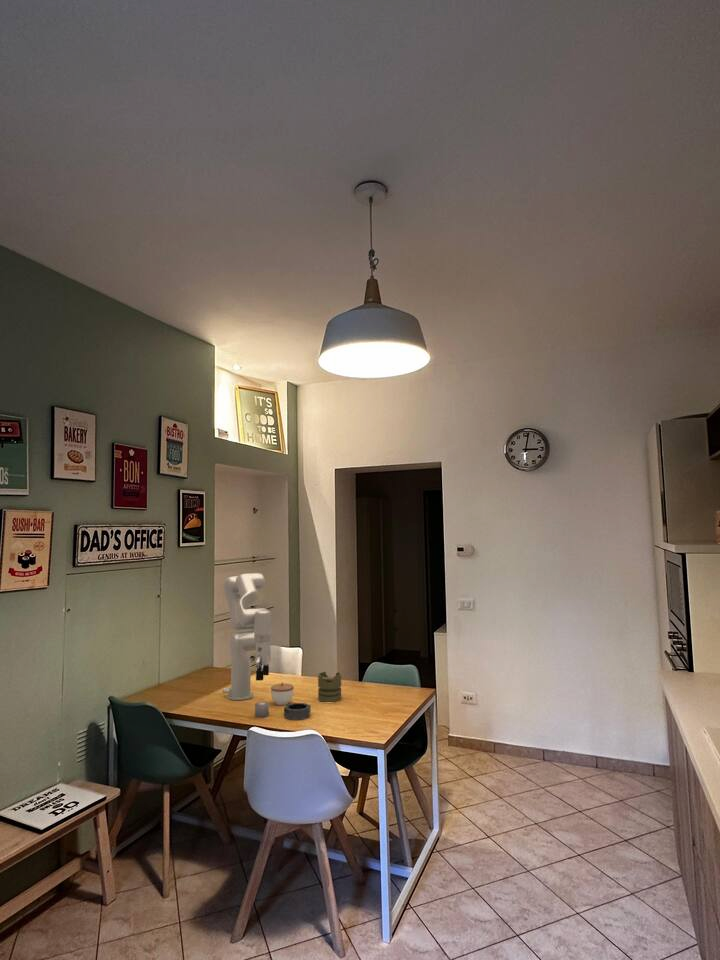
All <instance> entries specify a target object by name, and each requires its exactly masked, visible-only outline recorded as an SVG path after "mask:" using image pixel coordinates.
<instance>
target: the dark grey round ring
mask: <svg viewBox="0 0 720 960" xmlns="http://www.w3.org/2000/svg"><path fill="white" fill-rule="evenodd" d="M311 710H312V709H311V704H309V703H305V702H293V703H288V704H286V705H285V706H284V707H283V715H284V718H285V719H287V720H290V721H300V720H301V721H302V720H307V719H308V718H310V717H309V716H311V713H312V711H311Z"/></svg>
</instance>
